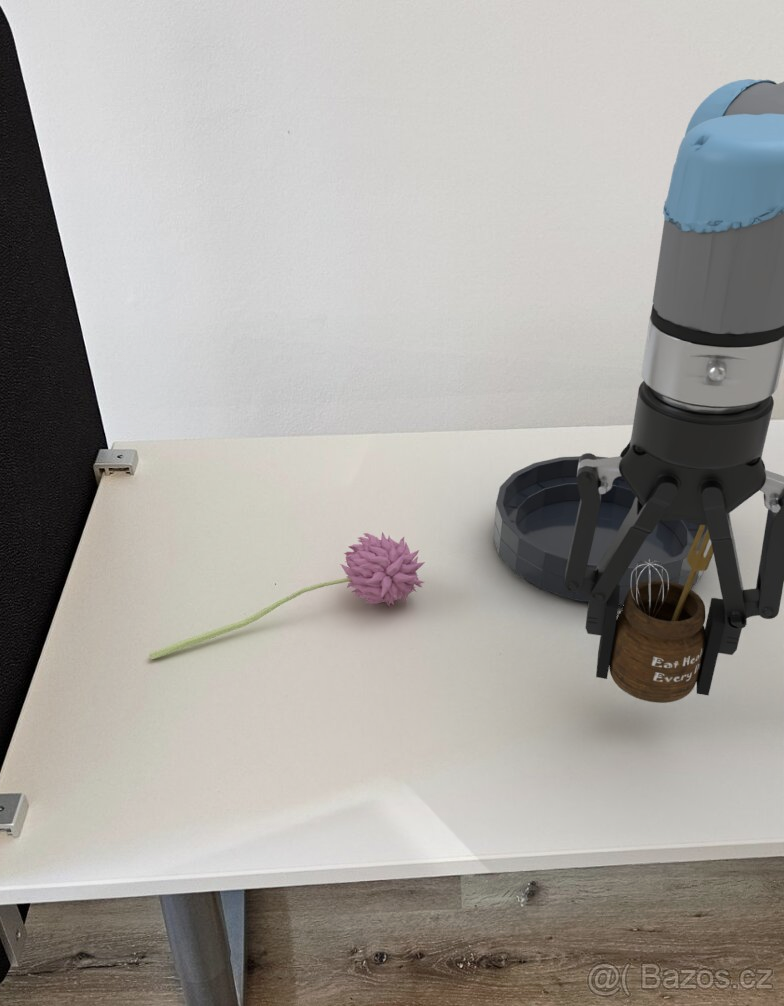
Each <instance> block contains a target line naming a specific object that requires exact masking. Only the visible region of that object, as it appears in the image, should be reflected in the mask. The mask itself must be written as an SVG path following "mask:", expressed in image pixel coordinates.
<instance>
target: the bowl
mask: <svg viewBox="0 0 784 1006" xmlns="http://www.w3.org/2000/svg"><path fill="white" fill-rule="evenodd" d="M580 456H581V455H580ZM580 456H579V455H578V456H560V457H555V458H551V459H545V460H542V461H537V462H534V463H530V464H529V465H527V466H525V467H523V468H521V469H519V470H517V471H514V472H513V473H512V474H511V475H510V476H509V477H508V478H507V479H506V480H505V481H504V482H503V483H502V484H501V485H500V486H499V489H498V493H497V497H496V502H495V509H494V520H493V531H492V539H493V542H494V546H495V548H496V551H497V554H498V556H499V558H500V559H502V560H503V562H504V563H505V564H506V565H507V566H508V567H509V568H510V569H511V570H512V572H514V574H516V575H517V576H519V577H521V578H522V579H524V580H526V581H528V582H529V583H531V584H533V585H534V586H536V587H537V588H539V589H541V590H543V591H547V592H549V593H553V594H556V595H558V596H561V597H564V598H566V599H570V600H572V601H573V600H574V601H580V602H587V603H589V598H588V596H587V595H586V594H584V593H582V592H580V591H578V592H570V591H568V590H566V588H565V587H564V582H565V574H566V566H567V561H568V556H569V551H570V546H571V542H572V537H573V532H574V527H575V523H576V518H577V513H578V508H579V504H580V499H581V498H580V493H579V489H578V485H577V471H578V463H579V458H580ZM595 456H596V457H597V459H604V458H609V457H608V456H607V457H606V456H599V455H598V456H597V455H595ZM635 498H636V496H635V495H634V493H633V492H632V490H631V489H630V487H629V486H628V484H627V483H626V482H625V480H624V479H623V477H622V476H620V477H617V478H616V479H615V480H614V481H613V484H612V488H611V489H610V490H609V491H608V492H606V493H605V494H601V502H600V510H599V515H598V520H597V524H596V528H595V533H594V537H593V542H592V546H591V551H590V555H589V560H588V564H587V567H588V568H591V569H593V568H594V567H595V569H596V567H597V566H598V564H599V562H600V561H601V559H602V557H603V555H604V554H605V552H606V550H607V549H608V547H609V545H610V544H611V542H612V540H613V538H614V537H615V535H616V533H617V532H618V530H619V528H620V527H621V525H622V523H623V522H624V520H625V518H626V516H627V515H628V513H629V511H630V510H631V508H632V505H633V502H634V500H635ZM699 527H700V525H699V524H694V523H691V522H688V521H685V520H675V521H664V520H659V522H658V524H657V525H656V527H655V528H654V530H653V532H652V533H651V534H648V536H647V537H646V539H645V541H644V542H643V544H642V546H641V547H640V549H639V550H638V552H637V554H636V555H635V557H634V559H633V560H632V562H631V563H630V565H629V567H628V568H627V570H626V572H625V573H624V575H623V576H622V578H621V580H620V581H619V583H618V585H620V593H619V606H623V603H624V600H625V598H626V595H627V593H628V591H629V590H630V589H631V588H632V587H633V586H635V585H636V569H635V568H636V566H637V580H638V584H639V583H641V582H645V581H652V580H662V579H661V577H662V569H663V568H664V569H665V570H666V571H667V572H666V571H665V570H664V569H663V581H668V579H669V581H670V582H674V583H678V584H681V585H683V586H685V585H686V582H687V579H688V577H689V574H690V572H691V567H690V565H689V564H688V562H687V557H688V554H689V551H690V549H691V547H692V544H693V542H694V539H695V537H696V534H697V532H698V530H699ZM707 530H708V526H707V525H705V528H704V531H703V533H702V536H701V539H700V542H699V544H698V547H697V550H696V552H697V553H698V552H699V549H700V547H701V545H702V542H703V540H704V537H705V535H706V532H707ZM710 545H711V540H710V539H709V542H708V544H707V547H706V550H705V552H704V557H706V555H707V552H708V550H709V548H710ZM649 559H650V563H651V562H653V563H651V565H652V566H651V565H650V569H649V565H648V563H649ZM640 561H645V562H640ZM654 561H659V562H660V563H661V564H662V567H663V568H662V567H660V566H661V564H660V563H659V562H654ZM638 562H640V563H638ZM646 562H648V563H646ZM637 564H638V565H637ZM642 564H646V565H642ZM653 564H657V565H653ZM639 565H641V566H639ZM647 565H648V566H647ZM658 565H660V566H658ZM638 566H639V567H638ZM646 566H647V567H646ZM653 566H654V567H655V568H656V569H657V570H658V572H659V573H660V575H661V577H660V575H659V573H658V572H657V570H656V569H655V568H654V567H653ZM645 567H646V568H645ZM644 568H645V569H644ZM634 569H635V570H634ZM643 569H644V570H643ZM633 570H634V571H633ZM642 570H643V571H642ZM641 571H642V573H641ZM632 572H633V573H632ZM704 572H705V570H704V571H697V573H696V576H695V578H694V581H693V583H692V586H694V585H696V584H697V583H698V581H699V580H700V578H701V577H702V575H703V574H704ZM640 573H641V574H640ZM667 573H668V576H667ZM631 574H632V582H631ZM639 575H640V576H639ZM638 577H639V579H638Z"/></svg>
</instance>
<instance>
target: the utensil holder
mask: <svg viewBox="0 0 784 1006" xmlns="http://www.w3.org/2000/svg"><path fill="white" fill-rule="evenodd" d="M704 528H705V525H700V527H699V530H698V532H697V534H696V537H695V539H694V542H693V544H692V547H691V549H690V551H689V554H688V557H687V562H688V564H689V565H690V567H691V572H690V574H689V577H688V579H687V582H686V585H685V586H683V585H681V584H678V583H674V582H670V581H669V579H668V581H663V569H664V568H663V567H662V564H661V563H660V562H659V561H654V562H659V563H660V564H661V566H660V565H658V566H660V567H662V568H663V569H662V577H661V575H660V573H659V572H658V570H657V569H656V568H655V567H654V566H653V567H654V568H655V569H656V570H657V572H658V573H659V575H660V577H661V579H662V580H652V581H645V582H641V583H639V584H638V580H637V566H636V568H635V569H636V585H635V586H633V587H632V588H631V589H630V590H629V591H628V593H627V595H626V598H625V600H624V603H623V605H622V610H621V611H620V612H619V613H618V615H617V621H616V627H615V633H614V639H613V645H612V652H611V658H610V664H609V673H610V676H611V679H612V680H613V682H614V684H616V686H617V687H618V688H619V689H621V691H623V692H624V693H626V694H628V695H630V696H632V697H634V698H636V699H638V700H641V701H645V702H649V703H657V704H658V703H659V704H667V703H674V702H677V701H680V700H682V699H684V698H686V697H687V696H688V695H689V694H690V693H692V691H693V690H694V688H695V686H696V685H697V684H696V681H697V678H698V674H699V670H700V666H701V662H702V657H703V652H704V647H705V639H706V636H705V623H706V604H705V603H704V600H703V599H702V597H701V596H700V594H698V593H697V592H695V591H694V590H693V589H691V588H692V587H693V585H692V583H693V581H694V578H695V576H696V573H697V571H704V572H705V571H707V570H708V568H709V566H710V563H711V561H712V558H713V556H714V553H713V548H712V543H711V545H710V548H709V550H708V552H707V555H706V557H704V552H705V550H706V547H707V544H708V542H709V539H710V536H709V531H708V530H707V532H706V535H705V537H704V540H703V542H702V545H701V547H700V549H699V552H698V553H697V552H696V550H697V547H698V544H699V542H700V539H701V536H702V533H703V531H704ZM640 562H645V561H640ZM640 562H638V563H640ZM646 563H648V562H646ZM651 563H653V562H651ZM651 563H650V559H649V563H648V565H649V569H650V565H651ZM637 565H638V564H637ZM642 565H646V564H642ZM648 565H647V566H648ZM653 565H657V564H653ZM639 566H641V565H639ZM639 566H638V567H639ZM647 566H646V567H647ZM651 566H652V565H651ZM646 567H645V568H646ZM645 568H644V569H645ZM635 569H634V570H635ZM644 569H643V570H644ZM634 570H633V571H634ZM643 570H642V571H643ZM664 570H665V569H664ZM642 571H641V573H642ZM665 571H666V570H665ZM666 572H667V571H666ZM632 573H633V572H632ZM641 573H640V574H641ZM639 576H640V575H639ZM667 576H668V573H667ZM638 579H639V577H638ZM631 582H632V574H631Z"/></svg>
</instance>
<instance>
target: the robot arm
mask: <svg viewBox="0 0 784 1006" xmlns="http://www.w3.org/2000/svg"><path fill="white" fill-rule="evenodd" d="M662 214H663V216H664V217H663V225H662V226H663V228H662V233H661V240H660V246H659V247H660V248H659V255H658V261H657V269H656V275H655V283H654V288H653V289H654V290H653V296H652V297H653V298H652V306H651V312H650V315H649V319H648V325H647V332H646V338H645V345H644V351H643V357H642V364H641V379H642V380H643V381H642V382H641V383H640V385H639V386H638V391H637V397H636V404H635V411H634V417H633V423H632V428H631V429H632V431H631V436H630V440H629V442H628V444H627V445H626V446H625V447H624V448H623V450H622V451H621V452H620V454H619V456H611V457H608V458H604V459H597V457H596V456H597V455H595V454H594V453H591V452H586V453H583V454H581V455H580V458H579V463H578V471H577V485H578V489H579V493H580V498H581V499H580V504H579V508H578V513H577V518H576V523H575V527H574V532H573V537H572V542H571V546H570V551H569V556H568V561H567V566H566V574H565V582H564V587H565V588H566V590H568V591H570V592H578V591H580V592H582V593H584V594H586V595H587V596H588V598H589V602H588V605H587V611H586V619H585V630H586V633H587V634H589V635H593V636H600V638H599V644H598V650H597V659H596V660H597V661H596V671H595V672H596V673H595V678H598V679H603V680H607V679H608V675H609V671H610V669H609V664H610V658H611V652H612V645H613V639H614V633H615V627H616V621H617V618H618V616H619V609H620V607H619V606H620V605H619V593H620V585H618V583H619V581H620V580H621V578H622V576H623V575H624V573H625V572H626V570H627V568H628V567H629V565H630V563H631V562H632V560H633V559H634V557H635V555H636V554H637V552H638V550H639V549H640V547H641V546H642V544H643V542H644V541H645V539H646V537H647V536H648V534H651V533H652V532H653V530H654V528H655V527H656V525H657V524H658V522H659V520H664V521H675V520H685V521H688V522H691V523H694V524H699V525H707V526H708V531H709V536H710V540H711V543H712V548H713V558H714V562H715V563H714V564H715V567H716V572H717V578H718V583H719V589H720V592H721V598H717V597H711V599H710V604H709V609H708V613H707V616H706V620H705V625H704V629H705V636H706V639H705V647H704V652H703V657H702V662H701V666H700V670H699V674H698V678H697V681H696V684H695V685H696V694H697V695H702V696H710V691H711V688H712V687H711V686H712V682H713V678H714V674H715V669H716V665H717V661H718V657H719V654H721V655H728V656H733V655H734V653H736V651H737V650H738V646H739V641H740V637H741V634H742V629H744V628H746V626H747V623H748V622H747V621H748V620H747V619H749V618H752V617H757V616H759V617H761V618H762V619H765V620H772V619H775V618H776V617H777V616H778V615H779V614H780V613H779V612H780V607H781V602H782V595H783V591H784V475H781V474H778V473H775V472H773V471H769V470H768V469H767V470H766V465H765V462H764V461H763V452H764V448H765V444H766V441H767V440H766V439H767V434H768V430H769V427H770V422H771V418H772V414H773V409H774V405H775V401H774V398H773V396H772V395H774V394H775V392H776V391H777V389H778V386H779V381H780V377H781V373H782V369H783V364H784V81H782V82H779V83H777V82H776V81H774V80H771V79H749V78H747V79H739V80H735V81H731V82H728V83H725V84H723V85H722V86H720V87H718V88H717V89H715V90H714V91H713V92H712V93H710V94H709V95H708V96H707V97H706V98H704V100H702V102H700V104H699V105H698V107H697V108H696V109H695V110H694V112H693V114H692V116H691V117H690V120H689V122H688V124H687V127H686V130H685V133H684V137H682V140H681V142H680V144H679V146H678V150H677V153H676V158H675V162H674V164H673V168H672V173H671V178H670V182H669V187H668V191H667V196H666V198H665V201H664V204H663V210H662ZM620 476H622V477H623V479H624V480H625V482H626V483H627V484H628V486H629V487H630V489H631V490H632V492H633V493H634V495H635V496H636V498H635V500H634V502H633V505H632V508H631V510H630V511H629V513H628V515H627V516H626V518H625V520H624V522H623V523H622V525H621V527H620V528H619V530H618V532H617V533H616V535H615V537H614V538H613V540H612V542H611V544H610V545H609V547H608V549H607V550H606V552H605V554H604V555H603V557H602V559H601V561H600V562H599V564H598V566H597V567H596V569H595V567H594V568H593V569H591V568H588V567H587V564H588V560H589V555H590V551H591V546H592V542H593V537H594V533H595V528H596V524H597V520H598V515H599V510H600V502H601V494H605V493H606V492H608V491H609V490H610V489H611V488H612V484H613V481H614V480H615V479H616V478H617V477H620ZM759 491H760V492H762V493H763V503H764V507H765V508H766V509H767V514H766V521H765V527H764V533H763V539H762V546H761V554H760V559H759V566H758V572H757V578H756V585H755V588H748V589H744V584H743V578H742V573H741V568H740V564H739V563H740V562H739V558H738V557H739V556H738V551H737V548H736V542H735V541H736V540H735V536H734V531H733V526H732V519H731V514H730V513H732V512H733V511H735V510H736V509H737V508H738V507H739V506H741V505H743V504H744V503H745V502H746V501H748V500H749V499H751V497H752V496H754V495H756V493H758V492H759Z"/></svg>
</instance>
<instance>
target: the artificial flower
mask: <svg viewBox="0 0 784 1006" xmlns="http://www.w3.org/2000/svg"><path fill="white" fill-rule="evenodd" d="M363 535H364V537H363V536H359V537H357V539H358V540H357V541H358V543H359V544H358V543H356V544H351V545H348V548H349V549H351V550H352V551H346V552H344V553H343V554H344V555H345V563H346V565H347V566H346V565H344V564H341V563H340V564H339V565H340V567H341V568H342V569H343V572H344V574H345V575H346V576H345V578H340V579H335V580H331V581H325V582H320V583H317V584H314V585H309V586H306V587H304V588H301V589H299V590H297V591H295V592H293V593H291V594H289V595H287V596H285V597H283V598H281V599H279V600H277V601H275V602H274V603H272V604H270V605H269V606H266V607H264V608H263V609H261V610H259V611H257V612H256V613H253V614H252V615H250V616H247V617H246V618H244V619H243V620H239V621H237V622H234V623H231V624H227V625H225V626H222V627H219V628H216V629H214V630H209V631H206V632H204V633H201V634H198V635H196V636H192V637H188V638H186V639H184V640H181V641H179V642H176V643H173V644H171V645H170V644H169V645H168V646H165V647H162V648H159V649H158V650H155V651H153V652H149V653H148V655H149V658H150V660H151V661H152V660H154V659H158V658H160V657H163V656H166V655H169V654H172V653H174V652H177V651H180V650H183V649H186V648H188V647H191V646H194V645H197V644H200V643H203V642H205V641H208V640H211V639H214V638H216V637H220V636H222V635H225V634H228V633H230V632H233V631H236V630H238V629H241V628H243V627H245V626H248V625H250V624H252V623H254V622H256V621H258V620H260V619H261V618H263V617H264V616H266V615H267V614H269V613H271V612H272V611H274V610H275V609H277V608H279V607H280V606H281V605H283V604H285V603H287V602H289V601H291V600H293V599H295V598H297V597H299V596H301V595H302V594H305V593H309V592H310V591H314V590H317V589H320V588H323V587H327V586H333V585H339V584H344V583H347V585H346V589H348V588H354V589H353V590H351V593H354V594H352V596H353V597H358V598H363V599H367V600H366V603H365V604H366V605H367V604H371V605H376V604H382V603H386V605H387V606H388V608H390V607H391V604H392V605H395V601H397V600H399V601H401V600H402V599H403V602H404V603H407V599H408V596H409V594H411V593H413V592H417V590H416V586H417V587H418V588H423V586H422V584H424V583H425V581H423V580H420V579H419V577H418V576H419V575H418V573H417V571H418V570H419V569H420V568H421V567H422V566H423V565H424V564H425V563H426V561H423V562H418V559H419V556H418V553H419V552H420V549H418V550H416V551H413V552H411V550H410V547H409V545H408V544H407V542H406V541H405V536H403V537H402V538H400V541H399V542H397V541H396V540H394V539H392V538H391V537H390V535H388V537H387V536H385V534H384V532H383V531H382V532H381V537H380V539H379V538H378V537H377V536H375V535H374V534H371V533H368V532H363ZM360 543H361V544H360Z"/></svg>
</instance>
